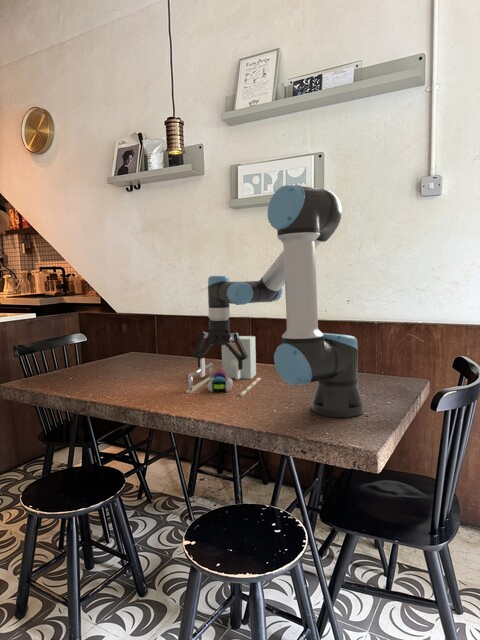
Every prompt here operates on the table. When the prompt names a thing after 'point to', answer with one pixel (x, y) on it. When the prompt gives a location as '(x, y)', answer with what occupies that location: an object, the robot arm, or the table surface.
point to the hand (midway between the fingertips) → (220, 377)
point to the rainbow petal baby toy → (220, 381)
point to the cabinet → (248, 364)
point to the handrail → (193, 388)
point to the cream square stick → (250, 387)
